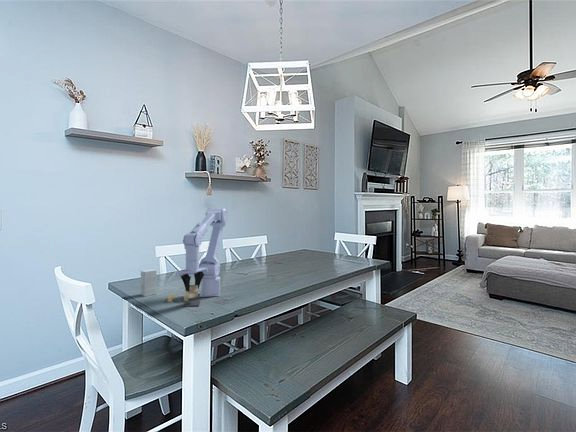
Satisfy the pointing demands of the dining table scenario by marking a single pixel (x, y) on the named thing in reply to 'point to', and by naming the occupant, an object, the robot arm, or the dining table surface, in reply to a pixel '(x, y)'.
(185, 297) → the pair of wooden bars
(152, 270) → the skincare box
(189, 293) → the plug block
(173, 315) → the dining table surface
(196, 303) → the rubber mat
